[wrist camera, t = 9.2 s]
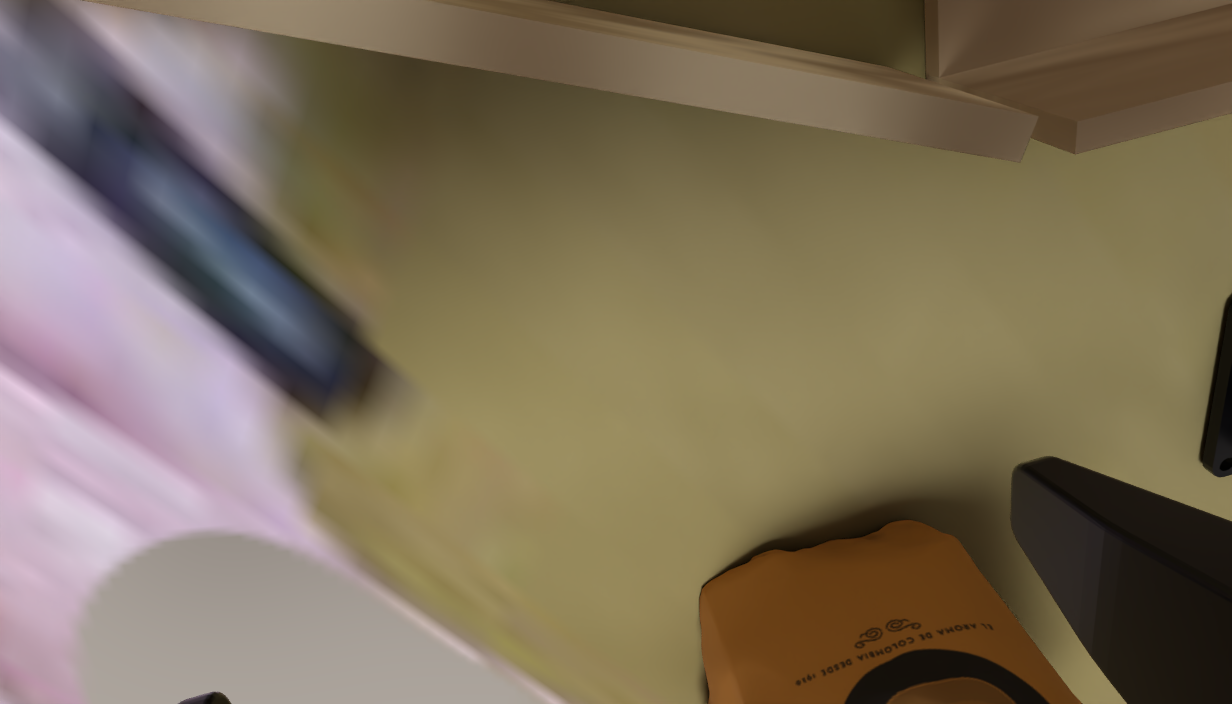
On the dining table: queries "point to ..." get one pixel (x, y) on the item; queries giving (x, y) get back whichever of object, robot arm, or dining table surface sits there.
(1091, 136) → the carton
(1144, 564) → the robot arm
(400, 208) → the dining table surface
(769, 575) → the coffee package
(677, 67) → the flap
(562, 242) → the dining table surface
